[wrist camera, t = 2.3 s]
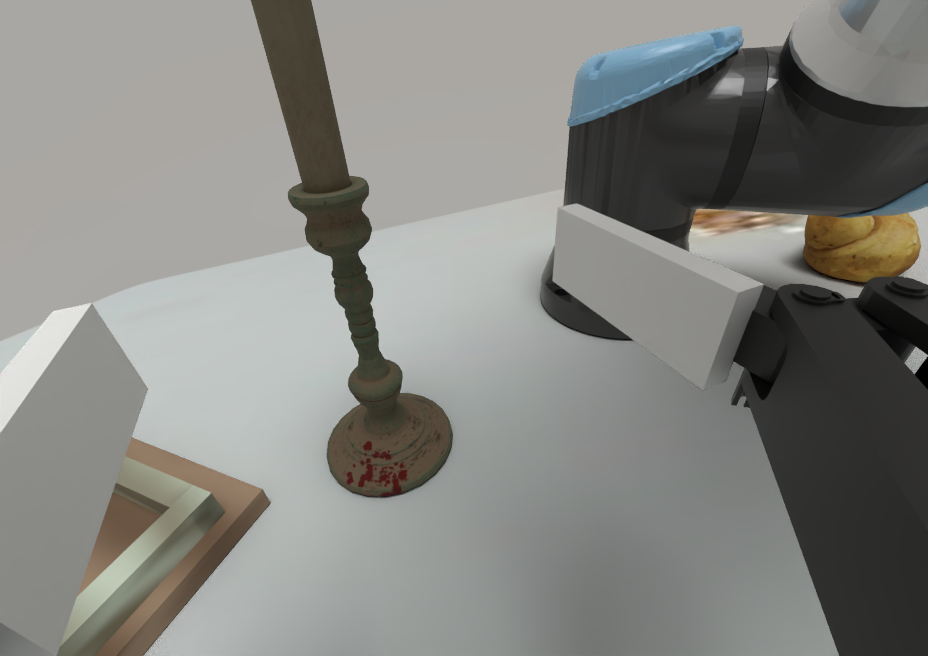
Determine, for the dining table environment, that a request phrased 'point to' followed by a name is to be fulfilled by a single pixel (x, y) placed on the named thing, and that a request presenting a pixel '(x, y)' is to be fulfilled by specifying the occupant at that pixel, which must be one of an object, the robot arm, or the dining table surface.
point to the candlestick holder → (347, 269)
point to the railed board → (155, 549)
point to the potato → (861, 245)
